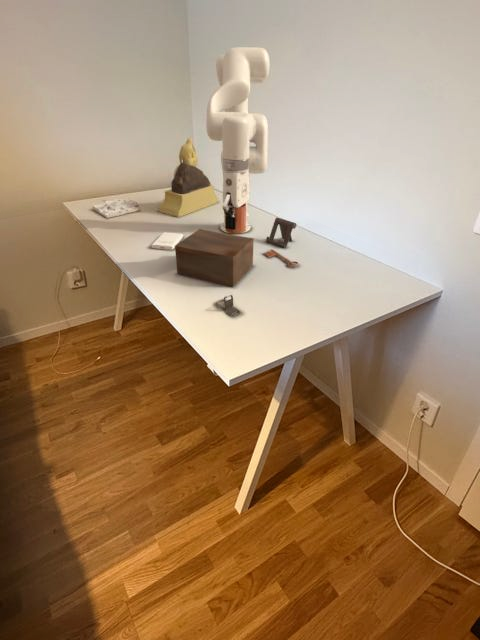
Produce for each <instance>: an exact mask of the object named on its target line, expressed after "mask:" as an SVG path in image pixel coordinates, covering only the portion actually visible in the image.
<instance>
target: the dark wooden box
mask: <svg viewBox="0 0 480 640" xmlns="http://www.w3.org/2000/svg"><path fill="white" fill-rule="evenodd" d="M254 240H255V238H253V237H248V236H242V235H237V234H232V233H226V232H221V231H214V230H209V229H203V228H198V229H197V230H196V231H194V232H193V233H192V234H190V235H188V236H187V237H185V238H184V239H182V240H180V242H179V243H178V244H177V245H175V247H174V252H175V263H176V274H177V275H178V276H183V277H187V278H190V279H191V278H192V279H195V280H196V279H197V280H201V281H205V282H208V283H209V282H210V283H214V284H219V285H222V286H227V287H232V288H234V287H235V286H236V285H237V284H238V283H239V282H240V281H241V279H242V278H243V277H244V276H246V274H247V273H248V272H250V270H251V269H252V268H253V266H254V242H255V241H254Z"/></svg>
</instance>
